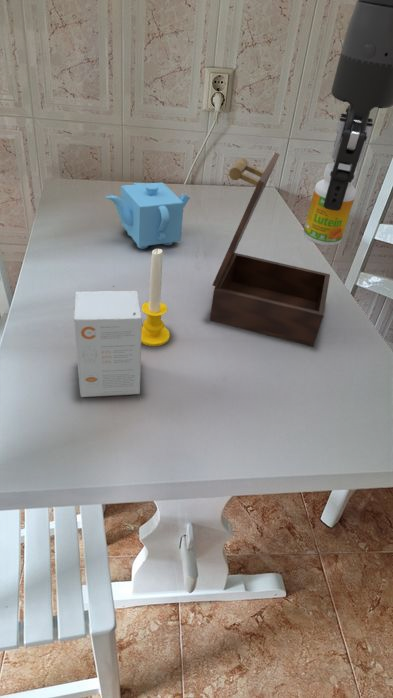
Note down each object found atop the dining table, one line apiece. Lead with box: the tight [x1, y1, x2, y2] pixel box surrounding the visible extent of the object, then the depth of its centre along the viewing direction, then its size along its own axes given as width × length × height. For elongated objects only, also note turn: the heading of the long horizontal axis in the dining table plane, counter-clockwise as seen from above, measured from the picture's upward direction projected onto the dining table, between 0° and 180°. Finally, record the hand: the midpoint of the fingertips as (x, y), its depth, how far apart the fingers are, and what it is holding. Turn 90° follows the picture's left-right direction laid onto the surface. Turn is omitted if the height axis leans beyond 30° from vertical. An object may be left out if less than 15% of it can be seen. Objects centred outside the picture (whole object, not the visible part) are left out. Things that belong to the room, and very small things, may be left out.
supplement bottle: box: [303, 162, 358, 247], centre depth 65 cm, size 5×5×10 cm
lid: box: [212, 152, 280, 288], centre depth 77 cm, size 18×14×5 cm
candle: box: [141, 246, 171, 347], centre depth 72 cm, size 5×5×16 cm
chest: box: [209, 252, 331, 348], centre depth 84 cm, size 18×14×6 cm
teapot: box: [104, 181, 191, 249], centre depth 99 cm, size 16×18×11 cm
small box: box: [73, 290, 143, 398], centre depth 64 cm, size 8×6×13 cm
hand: (332, 199), depth 65 cm, fingers closed on supplement bottle, 5 cm apart
